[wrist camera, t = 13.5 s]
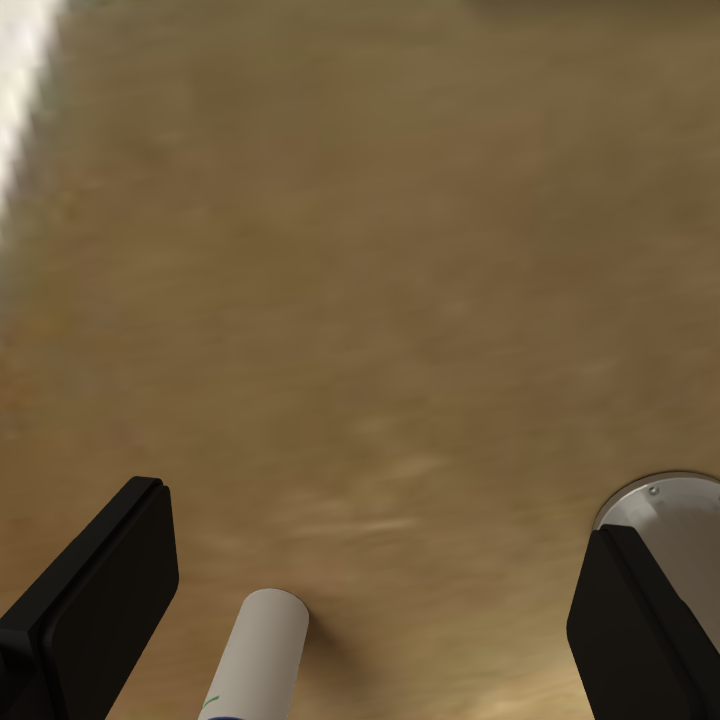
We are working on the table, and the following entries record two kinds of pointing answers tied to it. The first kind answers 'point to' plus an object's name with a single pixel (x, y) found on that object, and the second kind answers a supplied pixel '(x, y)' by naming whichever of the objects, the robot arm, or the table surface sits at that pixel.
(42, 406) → the table surface
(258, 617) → the cylindrical container
